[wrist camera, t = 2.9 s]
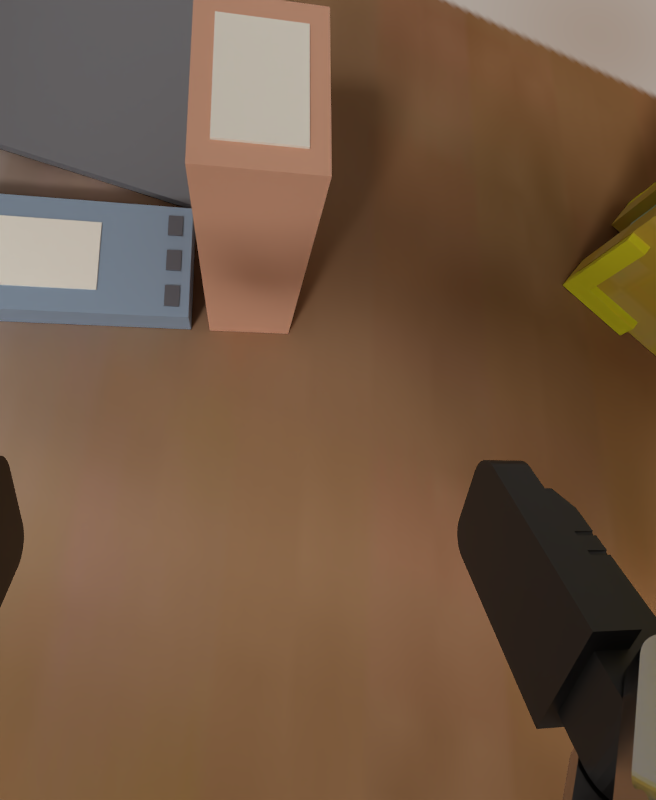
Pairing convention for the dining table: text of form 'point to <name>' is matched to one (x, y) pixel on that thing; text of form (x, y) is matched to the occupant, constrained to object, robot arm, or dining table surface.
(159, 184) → the mat
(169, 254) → the blue panel box
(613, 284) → the book
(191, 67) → the tan rectangular block
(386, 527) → the dining table surface
